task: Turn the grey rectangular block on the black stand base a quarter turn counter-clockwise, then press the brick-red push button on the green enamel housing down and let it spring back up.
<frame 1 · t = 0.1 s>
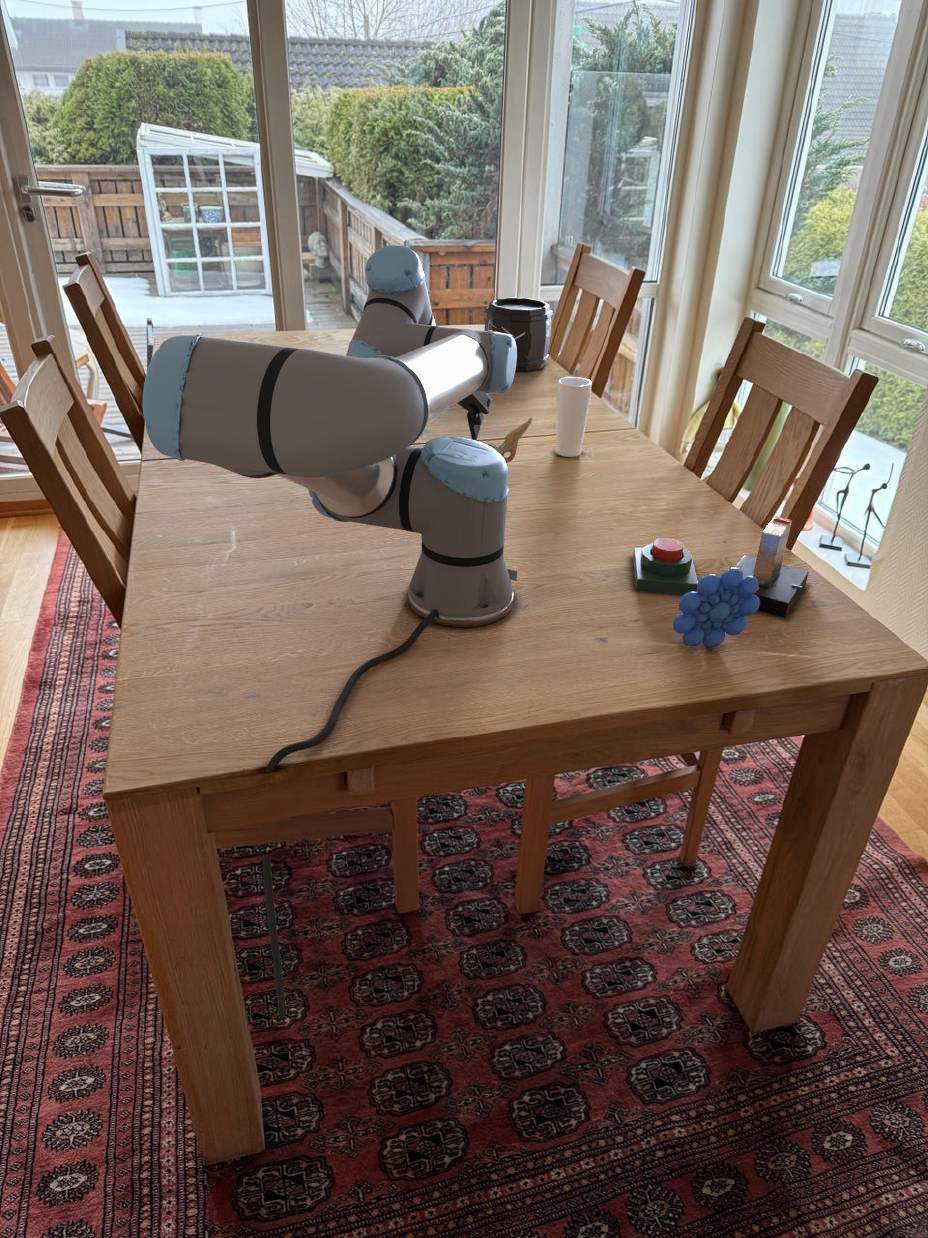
hand: (437, 428, 153), 15 cm above the table, tool tilted 35°, fingers open, 13 cm apart
start button: (667, 550, 140), point 5 cm above the table, slide at 0.1 cm
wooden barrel: (514, 364, 247), on the table
drinking glass: (567, 454, 189), on the table
button housing: (663, 576, 143), on the table
oil lamp: (474, 466, 181), on the table
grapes: (706, 644, 126), on the table
grey rectangular block: (771, 551, 136), point 7 cm above the table, hinge at 0.0°
black stand base: (762, 592, 139), on the table
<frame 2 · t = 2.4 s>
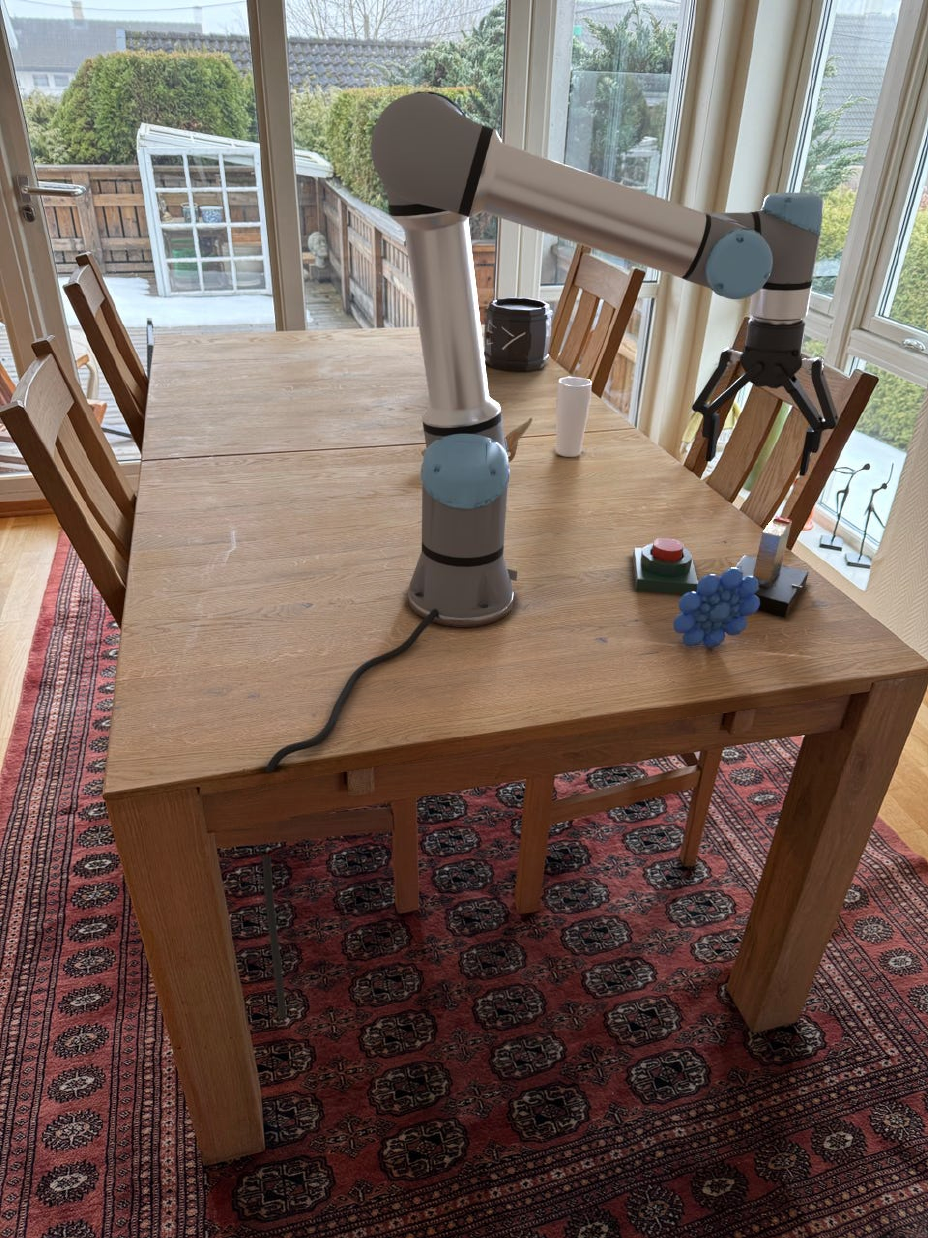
hand: (755, 465, 135), 18 cm above the table, tool pointing down, fingers open, 13 cm apart
nothing on the table moved.
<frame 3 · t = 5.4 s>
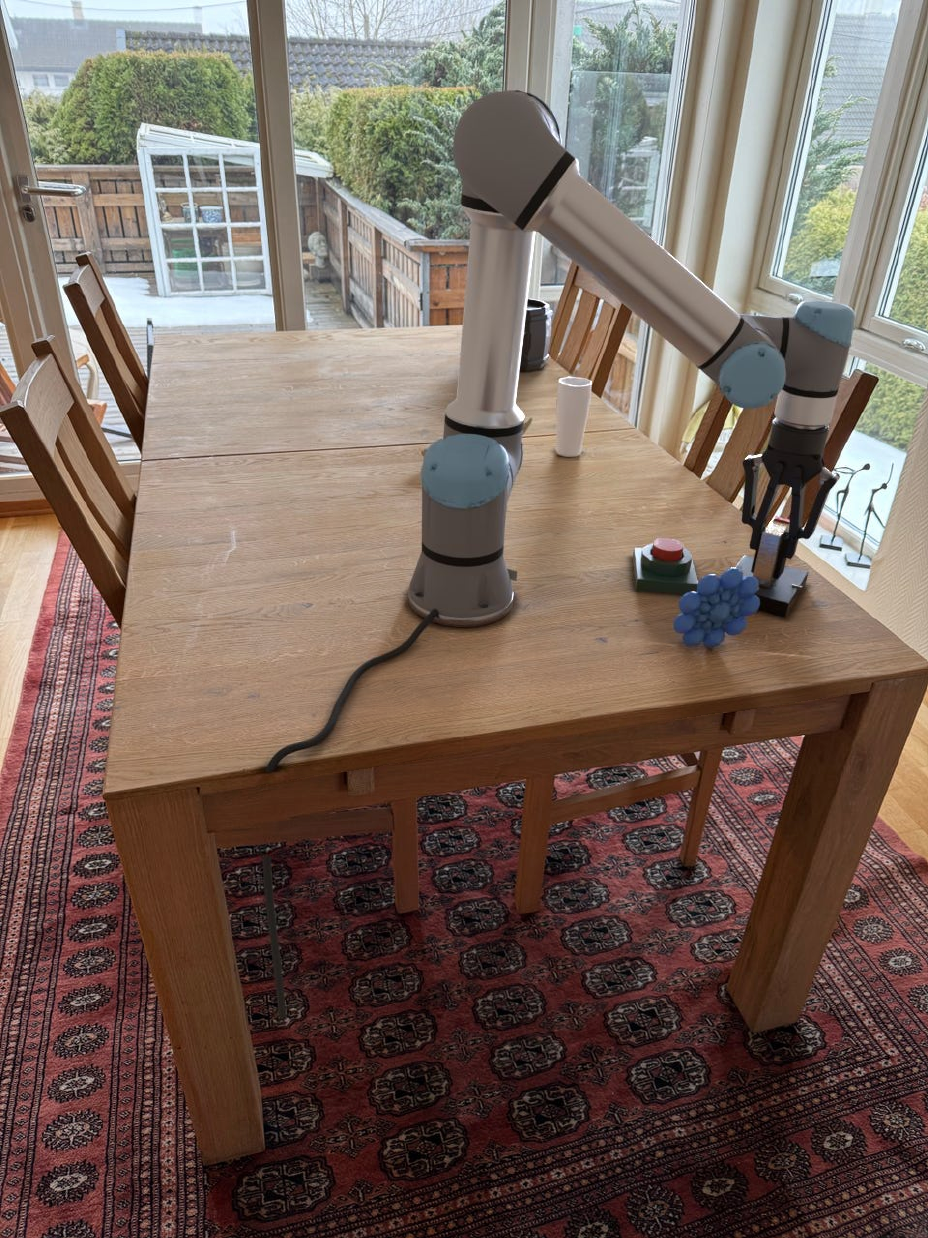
hand: (766, 572, 137), 4 cm above the table, tool pointing down, fingers closed on grey rectangular block, 3 cm apart
grey rectangular block: (771, 551, 136), point 7 cm above the table, hinge at 0.0°, touching gripper
everything else where it was.
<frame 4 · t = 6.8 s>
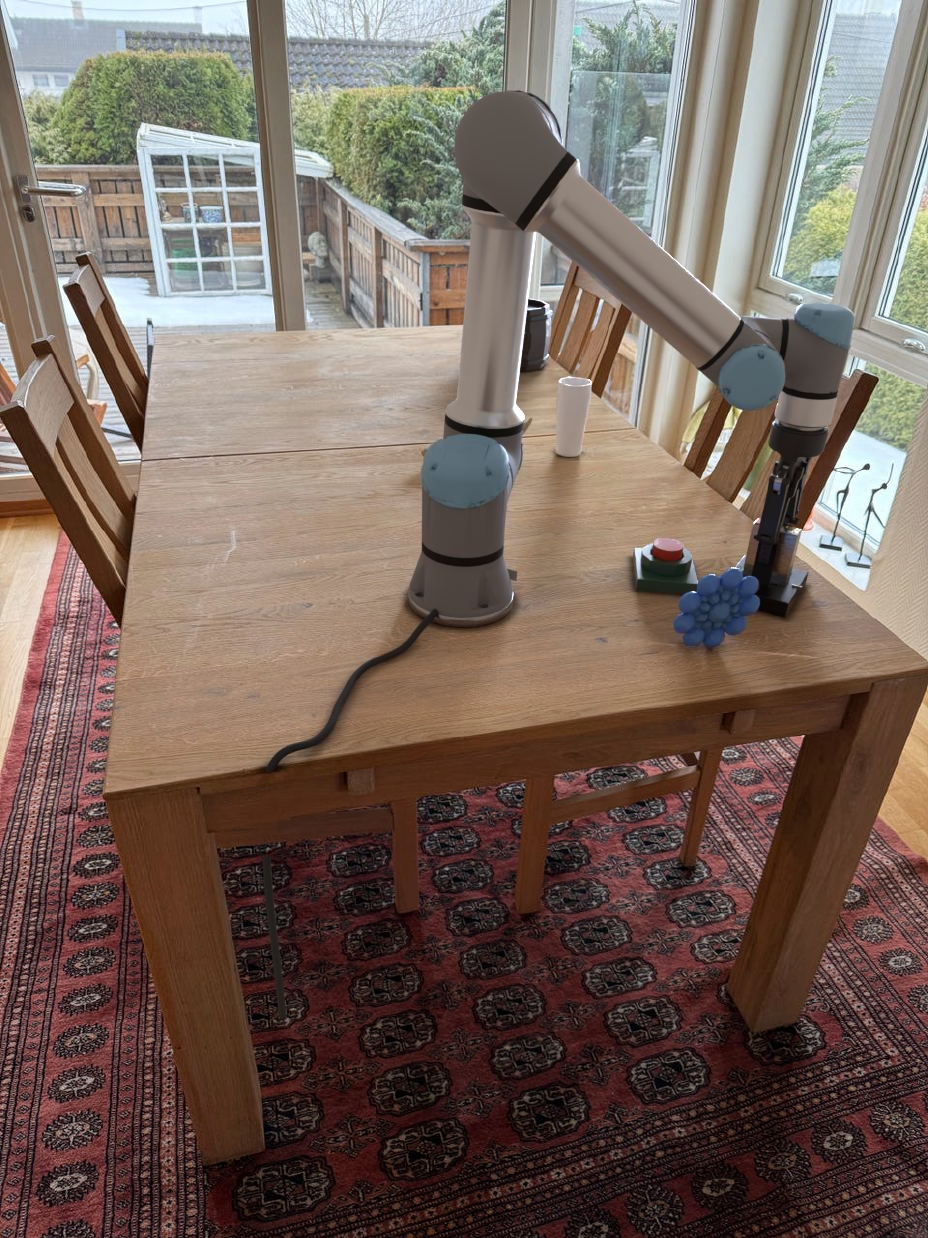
hand: (767, 571, 137), 4 cm above the table, tool pointing down, fingers open, 6 cm apart
grey rectangular block: (771, 551, 136), point 7 cm above the table, hinge at 89.4°
everything else where it was.
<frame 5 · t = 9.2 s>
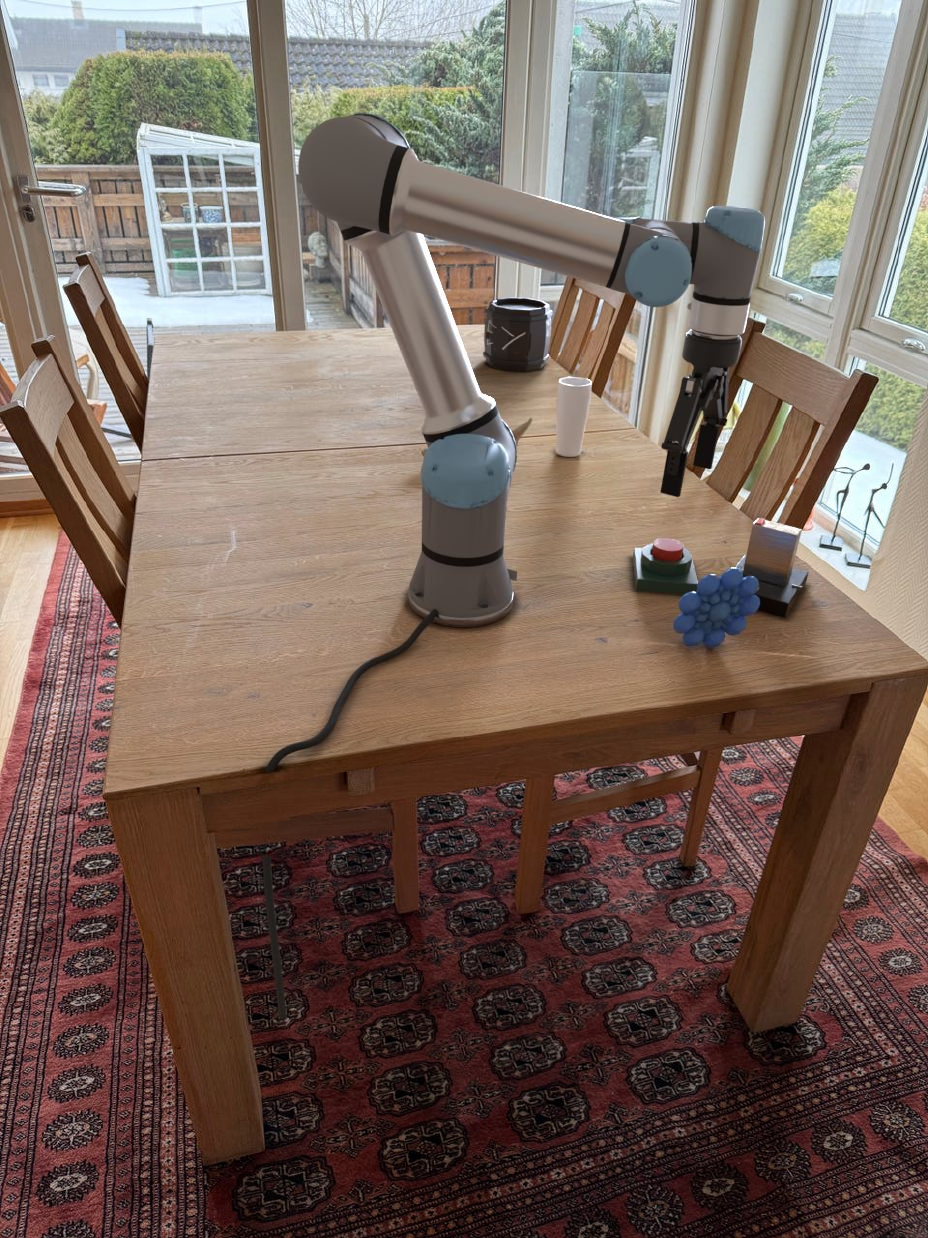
hand: (686, 480, 134), 16 cm above the table, tool pointing down, fingers open, 13 cm apart
nothing on the table moved.
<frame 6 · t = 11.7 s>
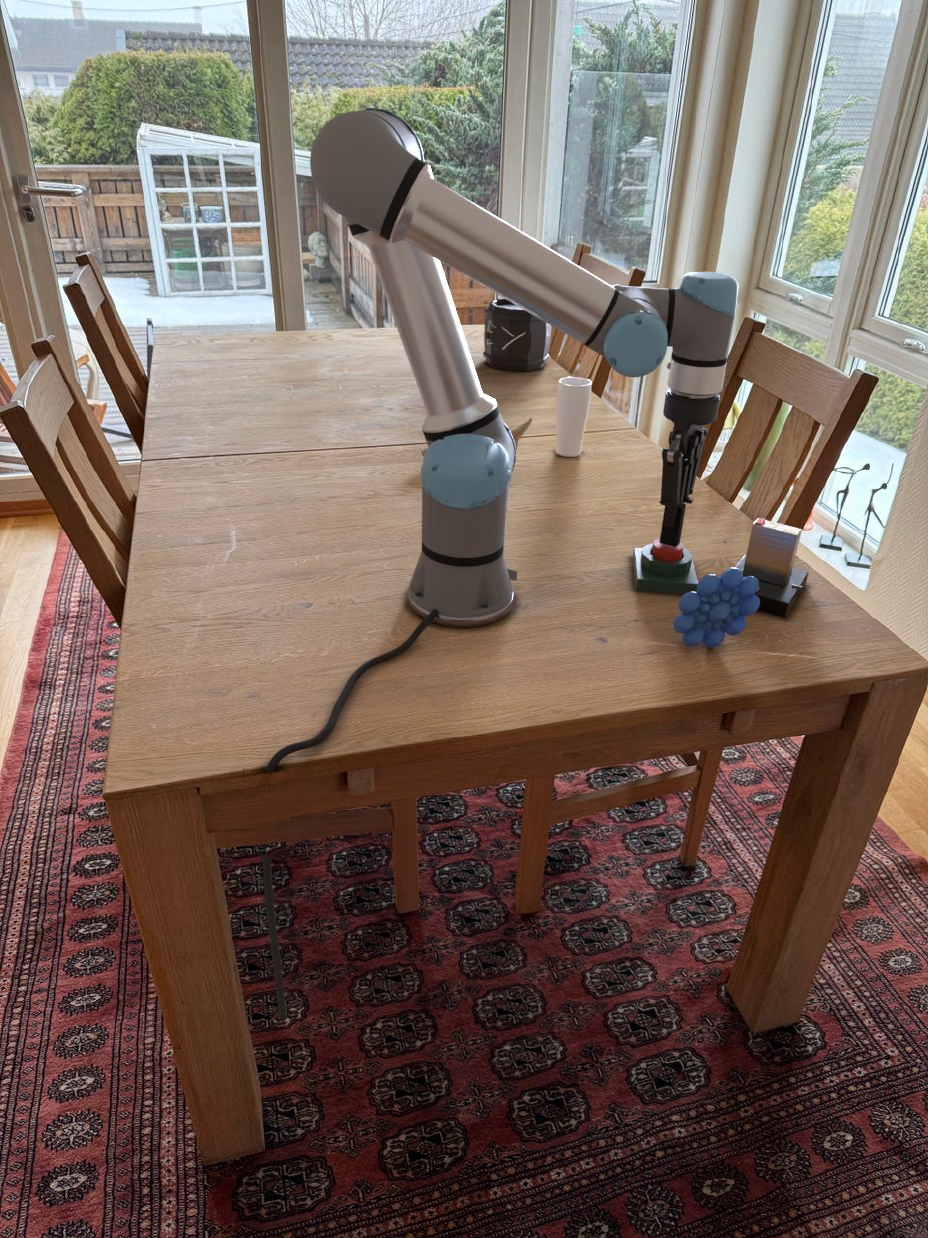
hand: (669, 543, 140), 6 cm above the table, tool pointing down, fingers closed
start button: (667, 550, 140), point 5 cm above the table, slide at 0.1 cm, touching gripper
everything else where it was.
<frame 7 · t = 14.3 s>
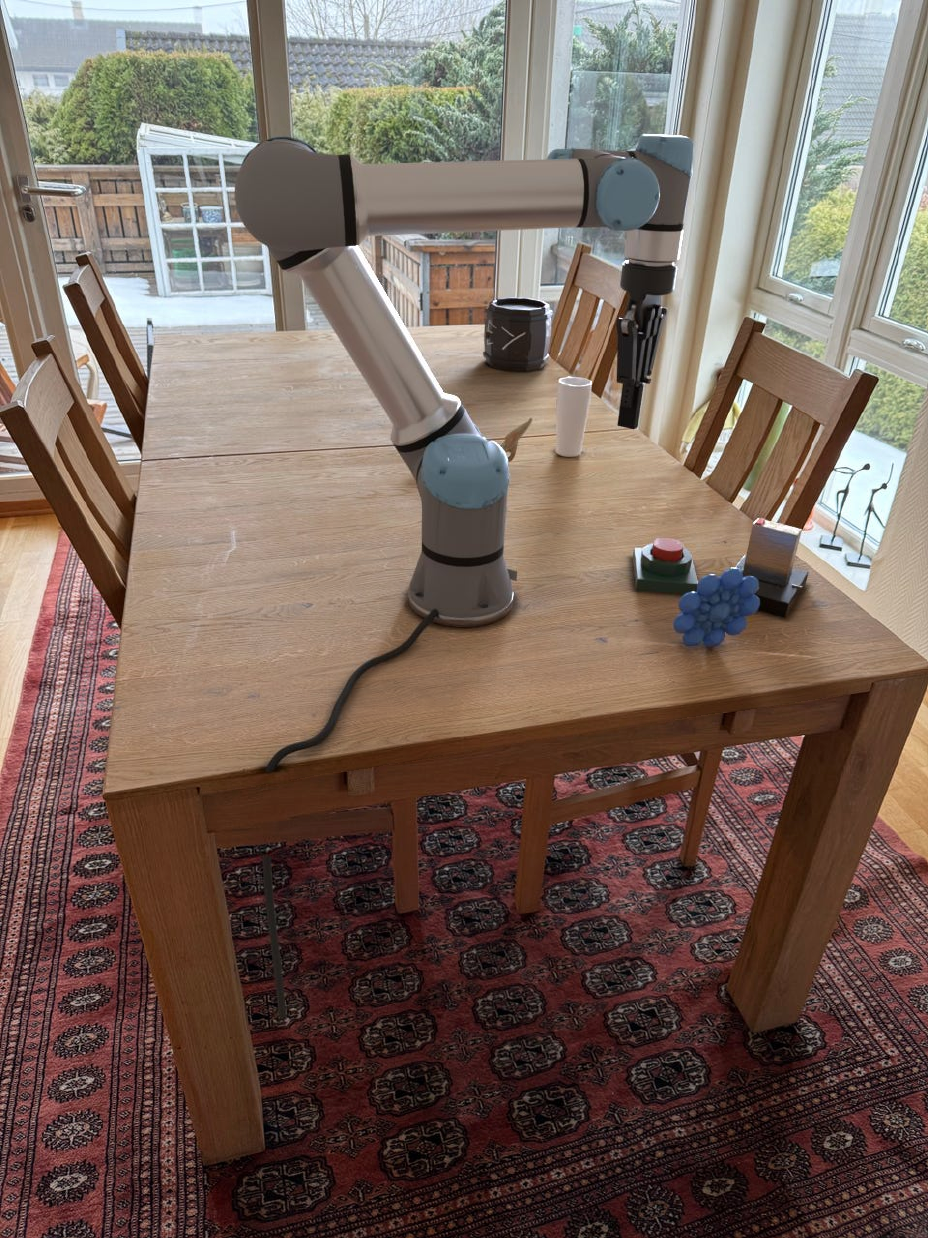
hand: (627, 426, 138), 21 cm above the table, tool pointing down, fingers closed
start button: (667, 550, 140), point 5 cm above the table, slide at 0.1 cm
everything else where it was.
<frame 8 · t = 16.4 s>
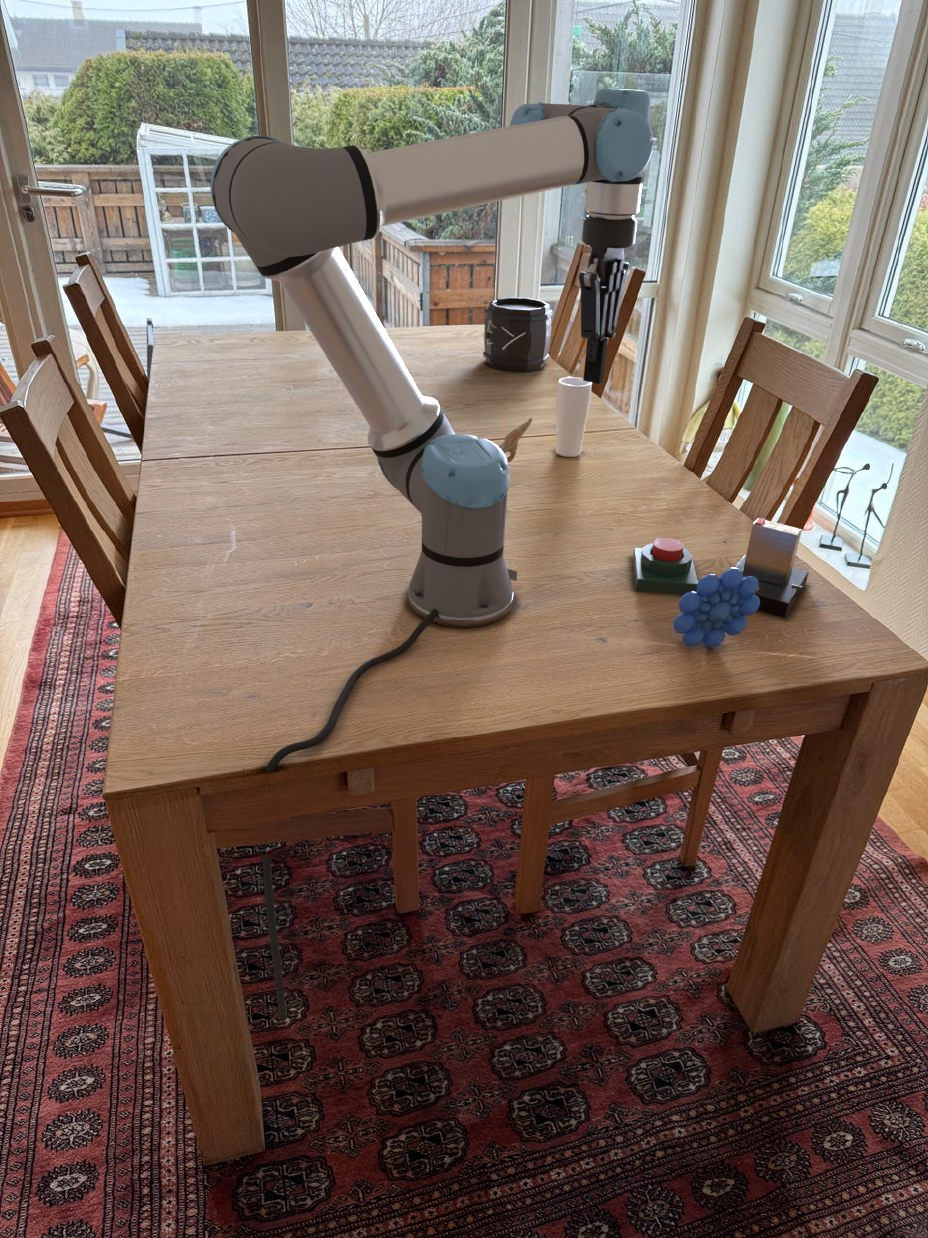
hand: (593, 381, 141), 26 cm above the table, tool pointing down, fingers closed
nothing on the table moved.
at the end: grey rectangular block at +89° (first picture: +0°); start button pushed in 1.2 cm at the most during the clip, back to where it started at the end; start button slide at 0.1 cm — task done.
